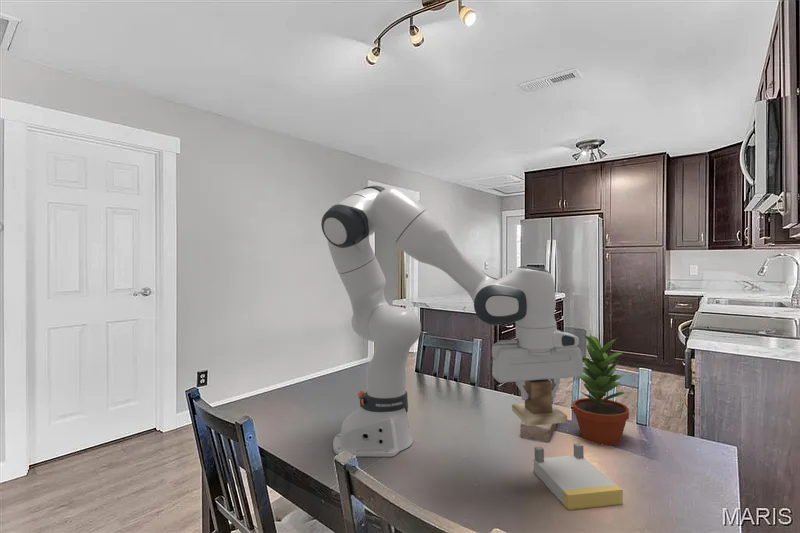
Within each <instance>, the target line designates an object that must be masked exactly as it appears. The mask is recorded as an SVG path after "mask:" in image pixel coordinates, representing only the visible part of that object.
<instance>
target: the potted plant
mask: <svg viewBox="0 0 800 533" xmlns="http://www.w3.org/2000/svg"><path fill="white" fill-rule="evenodd" d="M581 333H582V334H583V336H584V337H585V339H586V340H587V345H585V347H586V350H587V352H588V354H589V357H590V358H591V359H589V358H587V357H585V356H584V355H582V359H583V364H584V365H585V366H586V367H585V366H583V374H585V375H581V376H580V377H579V379H580V380H582V382H584V383H583V386H584V388H585V389H586V390H587V392H588V393H589V394H587V393H584V392H582V391H580V393H581V394H582V395H584V396H586V398H585V397H583V398H579V399H576V400H574V401H573V402H572V412H573V414H575V417H576V422H577V426H578V429H579V432H580V435H581V438H582V439H583V440H586V441H587V442H589V441H590V443H592V442H593V443H592V444H595V443H597V444H596V445H601V444H603V445H602V446H615V445H618V444H620V443H621V441H622V437H623V433H624V430H625V427H626V425H627V424H626V423H627V421H628V420H629V419H630V408H629V407H628V406H627V405H625V404H623V403H622V402H619V401H616V400H611V399H613V398H616V397H618V396H619V397H620V396H622V395H625V394H628V393H629V391H627V392H625V391H619V392H615V393H613V394H610V395H608V396H607V394H606V393H608V392H610V391H611V390H613V389H615V388H617V387H618V386H620V385H621V382H622V380H621V381H617V380H619V379H620V378H622V377H623V376H624V375H625V373H623V374H621V375H620V374H614V373H615V371H617V368H616V367H617V365H618V364H619V362H620V361H621V360H622V358H620V359H618V360H616V358H618V357H619V356H621V355H622V354H623V353H624V351H622V352H614V353H612V354H609V355H608V353H606V352H607V350H608V349H610V347H611V346H612V345H613V344H614V343H615V342H616V340H617V339H618V338H619V337H617V338H615V339H612V340H610V341H609V342H607V343H606V344H604V345H603V346H602V344H601V342H600V340H599V338H598V337H597V336H593V335H592V334H591V333H589V336H588V335H586V334H584V333H583V332H581ZM613 362H614V363H613Z"/></svg>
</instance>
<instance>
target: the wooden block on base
mask: <svg viewBox="0 0 800 533" xmlns="http://www.w3.org/2000/svg"><path fill="white" fill-rule="evenodd" d="M551 383H552V381H551V380H550V379H544V380H531V381H525V386H523V387H524V389H525V390H527V391H528V392H530V400H524V403H515V404H511V411H512V412H513V413H514V414H515V415H516V416H517V418H519V419H520V420H521V421H523V422H524V423H525V424H526V425H527V426H533V425H544V424H555V423H557V424H563V423H565V424H566V423H568V415H566V413H565V412H563V411H562V410H560V409H559V408H558V407H556V406H555V405H554V404H553V398H552V387H551Z"/></svg>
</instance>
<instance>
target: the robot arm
mask: <svg viewBox="0 0 800 533" xmlns="http://www.w3.org/2000/svg"><path fill="white" fill-rule="evenodd" d="M320 225H321V231H322V233H323V235H324V237H325V238H326V240H327V245H328V249H329V252H330V256H331V259H332V261H333V265H334V266H335V270H336V271H337V273H338V275H339V278H340V280H341V283H342V284H343V286H344V288H345V291H346V293H347V295H348V297H349V298H348V299H349V301H350V305H351V310H352V317H351V326H352V329H353V331H354V332H355V333H356V334H357V335H358V336H360V337H361V338H362V339H365V340H366V341H370V342H374V352H373V355H372V358H371V359H370V360H369V361H368V363H367V364H366V368H365V370H366V392H365V391H363V390H360V391H359V392H357V396H358V397H357V398H358V400H359V407H358V408H357V409H355V410H354V411H353V412H351V413H350V414H349V415H347V416H346V418H344V420H343V422H342V426H341V429H340V432H339V433H338V434H336V436H334V439H333V442H332V443H333V444H332V449H333V452H334V453H335V455H337V454H339V453H341V452H343V451H348V452H350V453H351V454H353V455H356V456H355V457H370V458H371V457H373V458H374V457H376V458H377V457H384V458H385V457H387V458H388V457H395V456H396V455H397V454H399V452H401V451H403V450H405V449H407V448H409V447H411V446H412V444H413V442H414V439H413V436H412V433H411V429H410V424H409V417H408V411H409V395H408V392H407V391H408V390H407V385H406V383H407V382H406V381H407V379H406V377H407V376H406V374H407V373H406V372H407V371H406V368H407V360H408V356H409V354H410V353H409V352H410V350H411V348H412V346H414V344H415V343H416V342H417V341H418V340H419V338H420V337H421V336H420V335H421V333H422V332H421V331H422V324H421V320H420V318H419V316H418V315H417V314H416V313H415V312H413V311H411V310H409V309H407V308H405V307H401V306H398V305H397V306H396V305H390V304H389V303H388V302H387V300H386V297H385V292H384V289H385V287H386V284H387V280H386V279H387V278H386V277H385V274H384V272H383V270H382V268H381V265H380V263H379V261H378V259H377V257H376V254H375V252H374V250H373V247H372V246H371V244H370V236H371V235H374V234H375V233H376V232H378V233H379V232H380V233H382V234H384V235H385V236H386V237H388V239H389V240H390V241H392V242H393V243H394V245H395V246H397V247H398V248H399V249H400V250H402V251H403V253H405V254H407V255H408V256H410V257H411V258H413V259H415V260H416V261H418V262H420V263H423V264H427V265H430V266H433V267H434V268H437V269H439V270H441V271H443V272H444V273H446V275H447V276H449V277H450V278H451V279H452V280H454V282H456V284H458V285H459V286H460V287H462V288H463V290H464V291H466V292H467V294H468V295H469V296H470V298H471V300H472V302H473V307H474V308H473V309H474V311H475V312H474V313H475V314H476V316H477V317H478V319H479V320H481V322H483V323H485V324H487V325H490V326H491V325H492V326H501V325H505V324H510V323H511V324H512V323H515V338H513V339H511V338H510V339H507V340H505V339H500V340H499V339H498V340H497V341H496V342H495V343H494V344H492V347H491V357H492V359H493V360H492V371H491V374H492V377H493V378H494V380H496V381H497V382H498V383H501V384H503V383H504V384H505V383H513V382H514V383H515V385H516V386H517V387H518V389H519V391H520V398H521V400H522V401H525V400H530V392H528V391H527V390H525V389H524V386H525V381H531V380H544V379H548V380H550V381H551V387H552V399H556V396H557V394H556V391H557V390H558V387H559V386H560V383H561V379H567V378H580V376H582V374H584V372H583V367H584V359H583V358H582V356H583V354H582V351H581V349H580V348H579V347H578V346H579V343H580V339H579V337H578V336H576V335H575V334H572V333H570V332H566V331H563V330H560V329H558V328H557V327H558V326H557V322H556V317H555V310H556V306H557V305H556V304H557V303H556V302H557V300H556V289H555V283H554V282H555V280H554V278H553V275H552V274H551V273H550V272H549V270H547V269H545V268H540V267H535V266H528V265H527V266H525V265H521V266H518V267H516V269H514V270H512V271H511V272H510V273H508V274H506V275H504V276H502V277H501V278H496V277H492V276H489V275H488V274H486V273H485V272H483V270H481V269H480V268H479V267H478V266H476V264H474V263H473V262H472V261H471V260H470V259H468V258H467V256H466V255H464V253H462V252H461V251H460V249H458V247H457V245H456V244H455V243H454V241H453V239H452V238H451V236H450V234H449V233H448V231H447V230H446V229H445V227H444V226H443V225H442V223H441V222H440V221H439V220H438V218H436V216H435V215H434V214H432V212H430V211H429V210H428V209H427V208H426V207H425V206H424V205H423V204H422V203H420V202H419V201H418V200H416V199H414V197H412V196H410V195H408V194H407V193H406V192H405V191H403V190H401V189H399V188H397V187H388V188H385V187H383V186H380V185H371V186H365V187H364V188H362V189H361V190H357V191H356V192H353V193H351V194H349V195H348V196H346V197H345V198H344V199H342V200H341V201H339V202H338V203H337V204H334V205H332V206H331V207H330V208H328V209H327V211H326V212H325V213H324V214H323V215H322V218H321V224H320Z"/></svg>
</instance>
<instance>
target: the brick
mask: <svg viewBox="0 0 800 533" xmlns="http://www.w3.org/2000/svg"><path fill="white" fill-rule="evenodd" d="M557 424H558V423H555V424H544V425H533V426H527V425H526V424H525V423H524V422H523V421H522V420H521V421H520V428H519V429H520V433H519V434H520V436H519V437H520V438H523V439H525V440H531V441H532V440H533V441H538V442H541V443H549V442H550V441H551V439H552V435H554V432H555V430H556V427H557Z"/></svg>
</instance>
